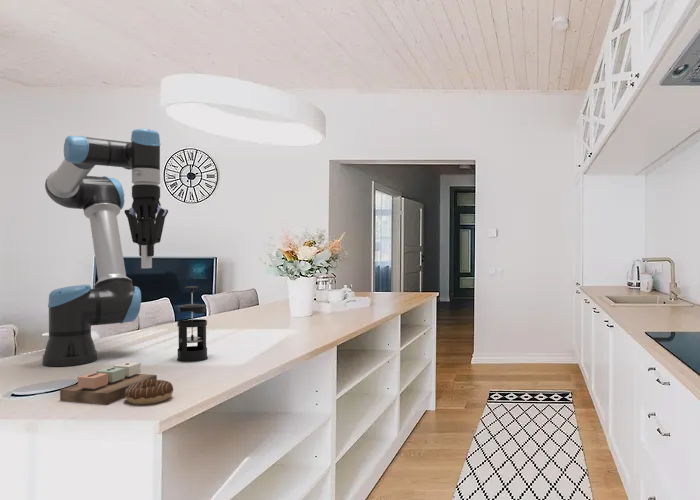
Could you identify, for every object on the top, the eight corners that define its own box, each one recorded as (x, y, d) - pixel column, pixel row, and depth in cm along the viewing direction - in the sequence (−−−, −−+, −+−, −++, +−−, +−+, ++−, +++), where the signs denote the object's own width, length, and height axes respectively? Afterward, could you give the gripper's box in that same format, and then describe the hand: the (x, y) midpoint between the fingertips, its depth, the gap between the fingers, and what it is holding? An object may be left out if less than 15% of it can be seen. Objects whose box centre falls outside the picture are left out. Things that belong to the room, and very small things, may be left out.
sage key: (96, 381, 129) (96, 370, 129) (109, 376, 134) (109, 366, 134) (112, 382, 128) (112, 371, 128) (125, 377, 133) (124, 367, 133)
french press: (196, 363, 163) (195, 287, 163) (169, 361, 166) (168, 287, 166) (216, 355, 174) (215, 285, 174) (190, 354, 177) (190, 284, 177)
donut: (183, 396, 127) (183, 379, 127) (150, 409, 118) (150, 390, 118) (148, 392, 132) (148, 375, 132) (114, 403, 122) (114, 386, 122)
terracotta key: (77, 387, 124) (77, 376, 124) (92, 382, 128) (91, 371, 128) (94, 388, 122) (94, 377, 122) (108, 383, 127) (107, 372, 127)
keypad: (60, 400, 124) (60, 381, 124) (113, 381, 141) (113, 365, 141) (107, 404, 121) (107, 385, 121) (156, 384, 138) (156, 367, 138)
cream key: (113, 375, 135) (113, 365, 135) (125, 371, 140) (125, 361, 140) (129, 376, 134) (128, 366, 134) (140, 372, 138) (140, 362, 138)
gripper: (117, 184, 150) (118, 268, 151) (158, 182, 147) (158, 268, 147) (134, 187, 158) (135, 267, 158) (173, 185, 154) (174, 267, 154)
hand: (146, 268), depth 152 cm, fingers closed
